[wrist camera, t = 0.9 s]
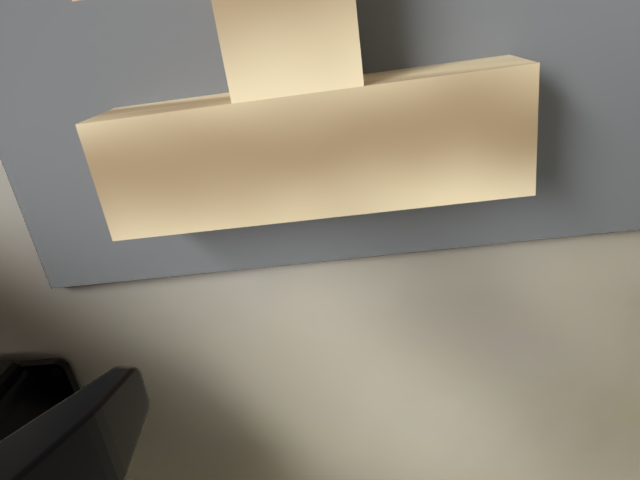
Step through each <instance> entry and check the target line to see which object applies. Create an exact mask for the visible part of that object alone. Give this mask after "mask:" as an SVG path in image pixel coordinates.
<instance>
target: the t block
mask: <svg viewBox="0 0 640 480" xmlns="http://www.w3.org/2000/svg"><path fill="white" fill-rule="evenodd" d="M211 3H212V8H213V13H214V18H215V23H216V28H217V33H218V38H219V43H220V48H221V53H222V58H223V63H224V68H225V73H226V78H227V83H228V88H229V93H221V94H214V95H206V96H199V97H192V98H184V99H177V100H169V101H162V102H155V103H147V104H140V105H132V106H125V107H118V108H113V109H111V110H109V111H106V112H104V113H101V114H99V115H97V116H94V117H92V118H89V119H87V120H85V121H82V122H80V123H78V124H75V126H76V129H77V132H78V135H79V138H80V141H81V144H82V147H83V151H84V154H85V157H86V160H87V163H88V166H89V169H90V172H91V175H92V178H93V182H94V185H95V188H96V191H97V194H98V197H99V200H100V203H101V206H102V209H103V213H104V216H105V219H106V222H107V225H108V228H109V231H110V234H111V237H112V241H120V240H129V239H139V238H148V237H157V236H166V235H176V234H185V233H194V232H203V231H212V230H222V229H231V228H240V227H249V226H259V225H268V224H277V223H286V222H295V221H305V220H314V219H323V218H332V217H342V216H351V215H360V214H369V213H378V212H388V211H397V210H406V209H415V208H425V207H434V206H443V205H452V204H461V203H471V202H480V201H489V200H498V199H508V198H517V197H526V196H535V195H536V165H537V134H538V103H539V71H540V63H539V62H535V61H531V60H528V59H524V58H521V57H517V56H513V55H502V56H495V57H488V58H480V59H473V60H465V61H458V62H451V63H443V64H436V65H428V66H421V67H414V68H406V69H399V70H391V71H384V72H377V73H369V74H363V70H362V59H361V49H360V39H359V29H358V19H357V8H356V0H211Z"/></svg>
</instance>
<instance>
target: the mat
mask: <svg viewBox="0 0 640 480" xmlns="http://www.w3.org/2000/svg"><path fill="white" fill-rule="evenodd" d="M356 8H357V19H358V29H359V39H360V49H361V59H362V70H363V74H369V73H377V72H384V71H391V70H399V69H406V68H414V67H421V66H428V65H436V64H443V63H451V62H458V61H465V60H473V59H480V58H488V57H495V56H502V55H513V56H517V57H521V58H524V59H528V60H531V61H535V62H539V63H540V71H539V103H538V134H537V165H536V195H535V196H526V197H517V198H508V199H498V200H489V201H480V202H471V203H461V204H452V205H443V206H434V207H425V208H415V209H406V210H397V211H388V212H378V213H369V214H360V215H351V216H342V217H332V218H323V219H314V220H305V221H295V222H286V223H277V224H268V225H259V226H249V227H240V228H231V229H222V230H212V231H203V232H194V233H185V234H176V235H166V236H157V237H148V238H139V239H129V240H120V241H112V237H111V234H110V231H109V228H108V225H107V222H106V219H105V216H104V213H103V209H102V206H101V203H100V200H99V197H98V194H97V191H96V188H95V185H94V182H93V178H92V175H91V172H90V169H89V166H88V163H87V160H86V157H85V154H84V151H83V147H82V144H81V141H80V138H79V135H78V132H77V129H76V126H75V124H78V123H80V122H82V121H85V120H87V119H89V118H92V117H94V116H97V115H99V114H101V113H104V112H106V111H109V110H111V109H113V108H118V107H125V106H132V105H140V104H147V103H155V102H162V101H169V100H177V99H184V98H192V97H199V96H206V95H214V94H221V93H229V88H228V83H227V78H226V73H225V68H224V63H223V58H222V53H221V48H220V43H219V38H218V33H217V28H216V23H215V18H214V13H213V8H212V3H211V0H0V159H1V161H2V164H3V166H4V169H5V172H6V174H7V177H8V179H9V182H10V184H11V187H12V190H13V192H14V195H15V197H16V200H17V202H18V205H19V208H20V210H21V213H22V215H23V218H24V220H25V223H26V225H27V228H28V231H29V233H30V236H31V238H32V241H33V243H34V246H35V249H36V251H37V254H38V256H39V259H40V261H41V264H42V267H43V269H44V272H45V274H46V277H47V279H48V282H49V285H50V287H51V289H52V288H62V287H72V286H82V285H92V284H102V283H112V282H122V281H132V280H142V279H152V278H162V277H172V276H182V275H192V274H202V273H211V272H221V271H231V270H241V269H251V268H261V267H271V266H281V265H291V264H301V263H311V262H321V261H331V260H341V259H351V258H361V257H371V256H381V255H391V254H401V253H411V252H421V251H431V250H441V249H451V248H461V247H471V246H481V245H491V244H501V243H511V242H521V241H531V240H541V239H551V238H561V237H571V236H581V235H591V234H601V233H611V232H621V231H631V230H640V0H356Z"/></svg>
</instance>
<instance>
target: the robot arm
mask: <svg viewBox="0 0 640 480" xmlns="http://www.w3.org/2000/svg"><path fill="white" fill-rule="evenodd" d="M56 369H58V370H60V371H61V372H60V371H58V370H56ZM148 408H149V398H148V394H147V391H146V388H145V384H144V381H143V378H142V374H141V372H140V370H139V369H138V368H136V367H130V366H117V367H115V368H113V369H111V370H110V371H108V372H107V373H105V374H103V375H102V376H100V377H99V378H97V379H96V380H94V381H93V382H91V383H90V384H88V385H86V386H85V387H83V388H82V389H79V387H78V384H77V382H76V379H75V377H74V374H73V372H72V369H71V367H70V365H69V364H68V363H67V362H66V361H65V360H62V359H45V360H34V361H22V362H15V361H7V362H0V480H124V479H125V476H126V473H127V470H128V467H129V465H130V462H131V459H132V456H133V453H134V450H135V447H136V444H137V441H138V438H139V436H140V433H141V430H142V427H143V424H144V421H145V418H146V415H147V412H148Z"/></svg>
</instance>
